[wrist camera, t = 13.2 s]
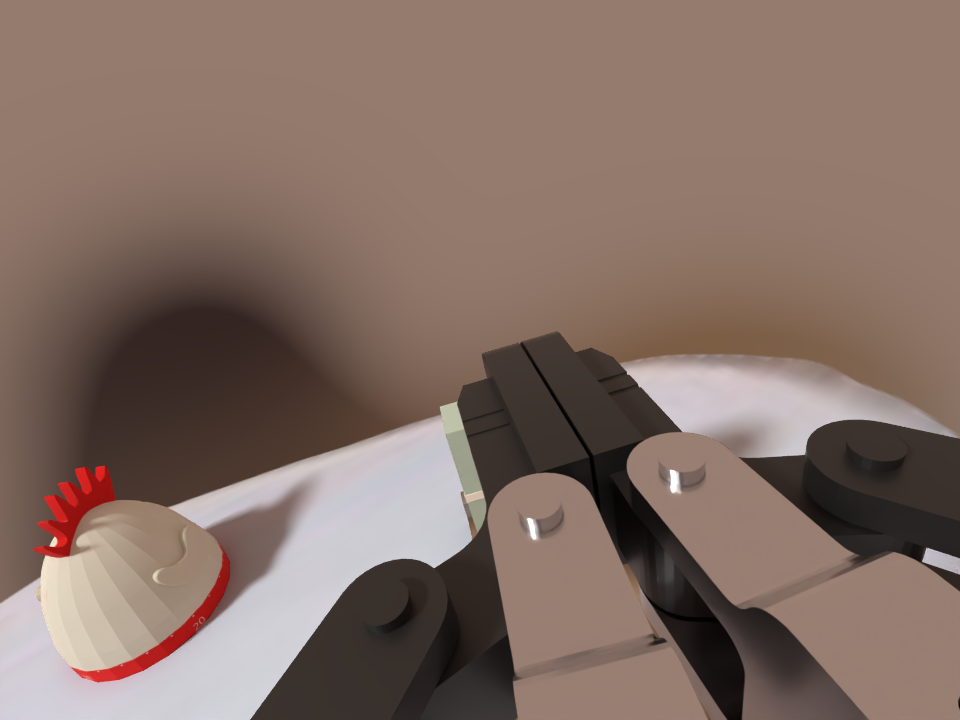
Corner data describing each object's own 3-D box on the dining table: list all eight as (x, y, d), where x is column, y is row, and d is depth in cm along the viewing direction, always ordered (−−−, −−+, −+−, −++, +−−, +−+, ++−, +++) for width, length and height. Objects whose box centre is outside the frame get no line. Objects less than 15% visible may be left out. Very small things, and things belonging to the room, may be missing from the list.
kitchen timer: (253, 536, 54) (180, 421, 46) (185, 672, 42) (73, 547, 35) (132, 554, 55) (44, 446, 48) (35, 690, 44) (-102, 574, 36)
